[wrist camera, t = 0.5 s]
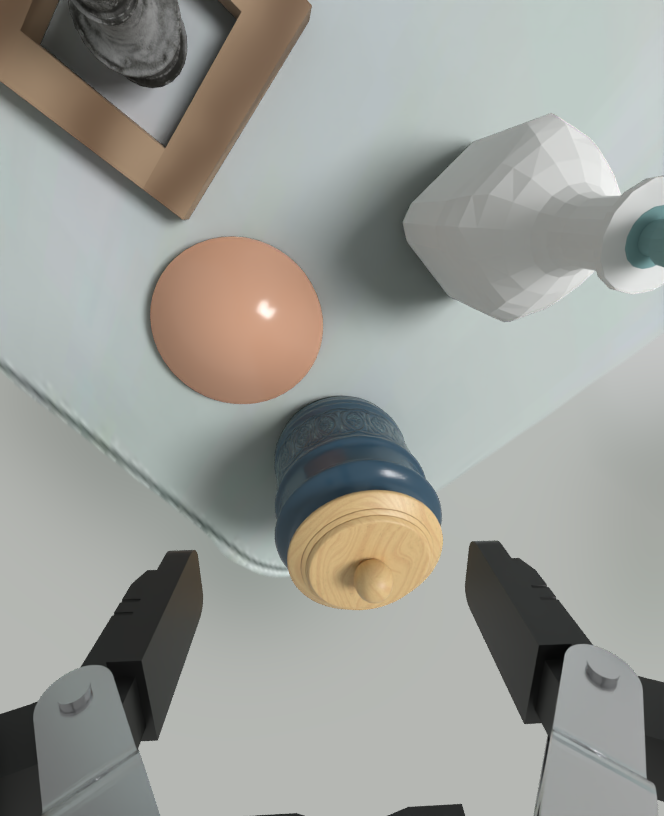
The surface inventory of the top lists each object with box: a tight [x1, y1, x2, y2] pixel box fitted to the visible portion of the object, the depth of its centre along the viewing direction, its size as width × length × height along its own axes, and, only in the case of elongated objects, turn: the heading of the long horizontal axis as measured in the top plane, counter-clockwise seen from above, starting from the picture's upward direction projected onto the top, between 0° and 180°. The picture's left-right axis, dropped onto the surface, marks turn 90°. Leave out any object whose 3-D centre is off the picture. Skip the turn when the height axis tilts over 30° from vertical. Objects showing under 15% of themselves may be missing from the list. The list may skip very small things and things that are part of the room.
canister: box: [275, 396, 443, 610], centre depth 33 cm, size 13×13×18 cm
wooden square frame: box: [0, 0, 312, 220], centre depth 24 cm, size 15×15×2 cm
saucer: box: [150, 236, 323, 404], centre depth 34 cm, size 14×14×1 cm
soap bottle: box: [403, 113, 664, 322], centre depth 23 cm, size 10×10×23 cm
